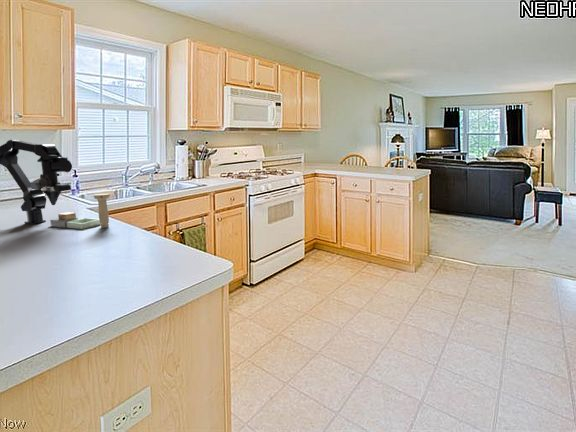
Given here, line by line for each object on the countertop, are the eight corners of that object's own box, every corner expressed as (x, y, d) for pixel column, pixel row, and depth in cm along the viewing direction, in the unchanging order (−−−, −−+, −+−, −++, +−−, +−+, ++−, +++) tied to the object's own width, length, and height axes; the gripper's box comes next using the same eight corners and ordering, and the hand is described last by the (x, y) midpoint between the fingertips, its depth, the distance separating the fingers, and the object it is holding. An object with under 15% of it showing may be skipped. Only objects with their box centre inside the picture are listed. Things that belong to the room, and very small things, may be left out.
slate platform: (51, 226, 182) (50, 219, 181) (64, 223, 188) (63, 216, 188) (65, 227, 178) (64, 221, 178) (78, 224, 185) (77, 218, 184)
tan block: (58, 219, 182) (58, 214, 181) (68, 217, 186) (67, 212, 186) (66, 220, 180) (65, 214, 180) (76, 218, 185) (75, 212, 184)
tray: (67, 227, 179) (66, 222, 178) (85, 223, 188) (85, 217, 187) (82, 229, 175) (82, 223, 175) (100, 224, 184) (100, 219, 184)
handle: (112, 227, 178) (109, 194, 175) (96, 228, 175) (93, 195, 172) (112, 225, 182) (109, 193, 179) (97, 226, 180) (94, 194, 177)
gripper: (18, 172, 178) (23, 206, 181) (47, 174, 171) (51, 209, 174) (41, 170, 188) (45, 202, 191) (70, 172, 181) (73, 205, 184)
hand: (53, 205), depth 185 cm, fingers closed
